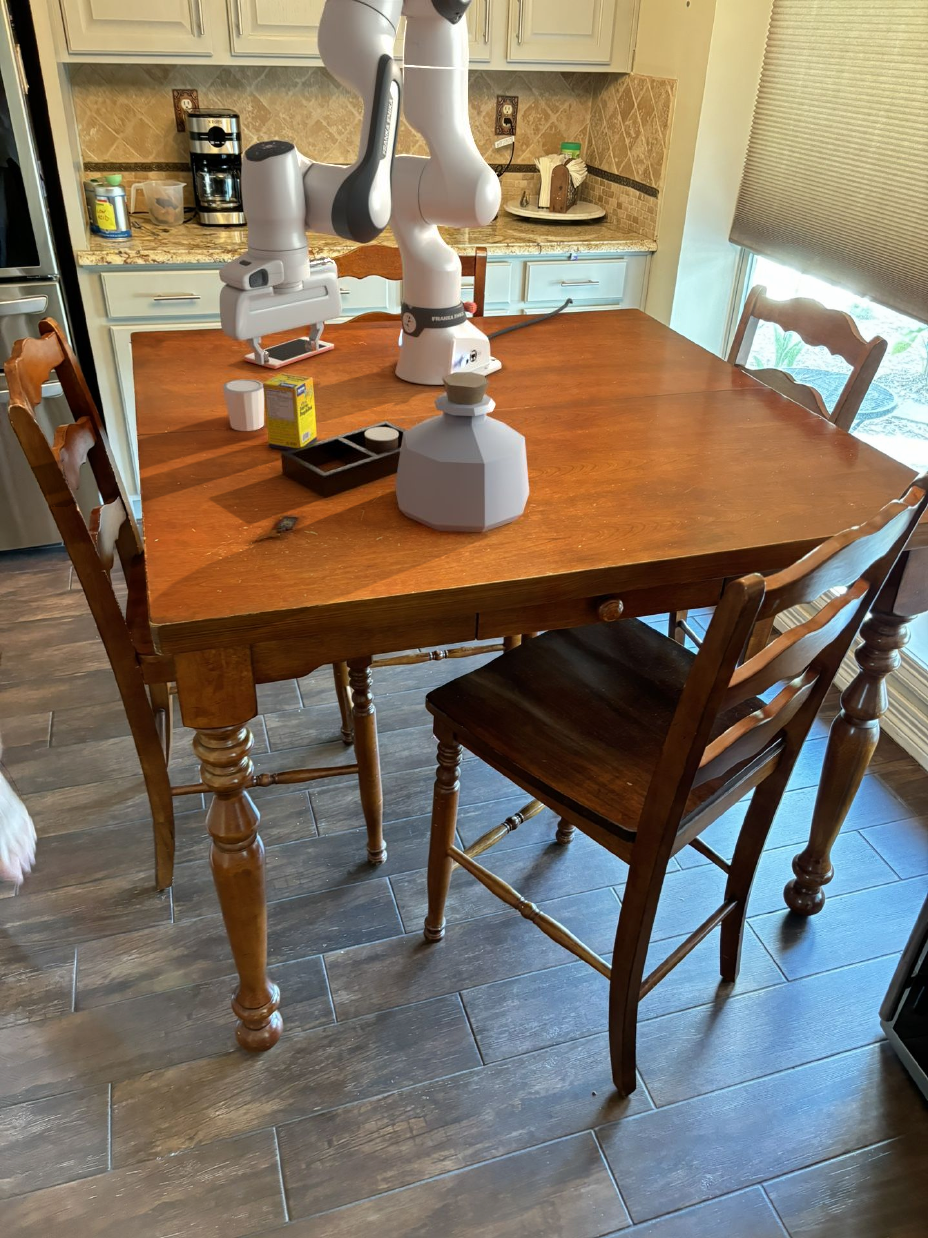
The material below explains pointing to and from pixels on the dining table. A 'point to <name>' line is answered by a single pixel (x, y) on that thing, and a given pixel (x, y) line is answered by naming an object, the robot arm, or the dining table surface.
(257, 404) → the shot glass
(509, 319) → the dining table surface
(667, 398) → the dining table surface
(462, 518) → the bottle
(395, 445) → the cylinder
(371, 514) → the dining table surface
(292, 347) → the cell phone
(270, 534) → the key tag
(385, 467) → the tray
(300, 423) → the supplement box
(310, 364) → the dining table surface
